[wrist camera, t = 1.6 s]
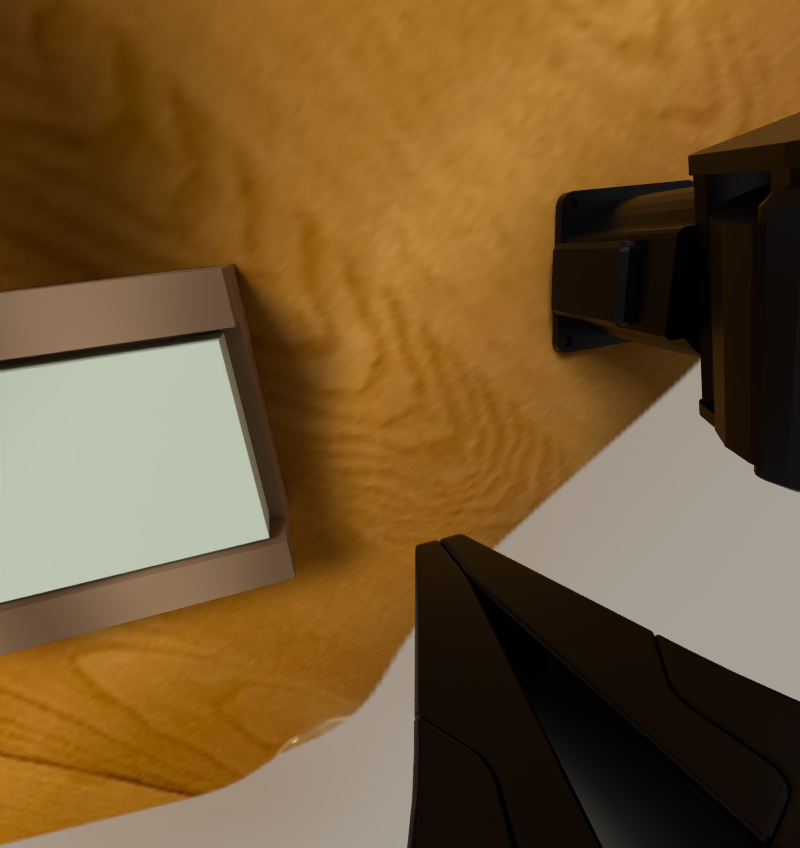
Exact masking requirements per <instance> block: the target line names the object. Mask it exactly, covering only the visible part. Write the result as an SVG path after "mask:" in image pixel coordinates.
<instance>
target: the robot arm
mask: <svg viewBox="0 0 800 848" xmlns="http://www.w3.org/2000/svg"><path fill="white" fill-rule="evenodd" d="M688 162H689V175H690V176H691V175H693V181H694V182H693V181H690V180H685V181H674V182H664V183H653V184H643V185H633V186H622V187H612V188H601V189H591V190H580V191H572V192H567V193H564V194H562V195H561V196H560V197H559V199H558V201H557V205H556V226H555V249H554V250H553V274H552V310H553V340H552V342H553V346H554V348H555V349H556V350H558V351H560V352H563V353H568V352H574V351H579V350H585V349H590V348H596V347H601V346H607V345H612V344H618V343H623V342H629V341H633V342H637V343H642V344H646V345H650V346H654V347H658V348H662V349H667V350H671V351H675V352H679V353H683V354H687V355H692V356H696V357H700V358H701V378H702V399H700V400H699V412H700V415H701V416H702V417H703V418H704V419H705V420H707V421H708V422H709V423H710V424H711V425H713V426H714V427H715V431H716V432H717V434H718V435H719V437H720V439H721V440H722V442H723V443H724V445H725V447H727V448H728V449H730V450H731V451H733V452H734V453H736V454H737V455H739V456H740V457H741V458H743V459H745V460H746V461H747V462H749V463H751V464H753V465H754V472H755V474H756V475H757V476H758V477H760V478H762V479H764V480H766V481H768V482H771V483H774V484H776V485H779V486H782V487H785V488H788V489H790V490H793V491H796V492H800V112H799V113H797V114H794V115H791V116H789V117H786V118H784V119H781V120H778V121H776V122H773V123H771V124H768V125H766V126H763V127H760V128H758V129H755V130H753V131H750V132H747V133H745V134H742V135H740V136H737V137H734V138H732V139H729V140H727V141H724V142H722V143H719V144H716V145H714V146H711V147H709V148H706V149H703V150H701V151H698V152H696V153H693V154H691V155H689V156H688ZM569 200H571V202H572V205H573V206H572V209H571V211H569V210H568V208H567V204H568V201H569ZM566 336H567V342H566V343H565V345H563V343H562V342H563V339H564V338H565V337H566ZM407 848H800V701H798V700H795V699H793V698H791V697H788V696H786V695H784V694H782V693H779V692H777V691H775V690H773V689H771V688H768V687H766V686H764V685H762V684H760V683H757V682H755V681H753V680H751V679H748V678H746V677H744V676H742V675H739V674H737V673H735V672H733V671H731V670H729V669H727V668H725V667H723V666H721V665H719V664H716V663H714V662H712V661H710V660H708V659H706V658H704V657H702V656H700V655H698V654H696V653H694V652H692V651H690V650H688V649H686V648H684V647H682V646H680V645H678V644H676V643H674V642H672V641H670V640H668V639H666V638H664V637H663V636H661V635H656V636H654V634H653V632H652V631H650V630H648V629H647V628H644V627H643V626H641V625H639V624H637V623H635V622H633V621H631V620H629V619H627V618H625V617H623V616H621V615H619V614H617V613H615V612H613V611H611V610H610V609H608V608H606V607H604V606H601V605H600V604H598V603H596V602H594V601H592V600H590V599H588V598H586V597H584V596H582V595H580V594H578V593H576V592H574V591H572V590H571V589H569V588H567V587H565V586H563V585H561V584H559V583H556V582H555V581H553V580H551V579H549V578H547V577H545V576H543V575H541V574H539V573H537V572H535V571H533V570H531V569H530V568H528V567H526V566H524V565H522V564H520V563H518V562H516V561H514V560H512V559H510V558H508V557H506V556H504V555H502V554H500V553H498V552H496V551H495V550H493V549H491V548H489V547H487V546H485V545H483V544H481V543H479V542H477V541H475V540H473V539H471V538H469V537H467V536H465V535H463V534H457V535H453V536H449V537H445V538H442V539H441V540H440V541H436V540H434V541H430V542H426V543H423V544H419V545H417V546H416V549H415V721H414V765H413V791H412V806H411V815H410V826H409V835H408V845H407Z"/></svg>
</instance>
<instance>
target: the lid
mask: <svg viewBox="0 0 800 848" xmlns="http://www.w3.org/2000/svg"><path fill="white" fill-rule="evenodd" d="M267 538H269V511H268V507H267V503H266V499H265V495H264V491H263V487H262V483H261V479H260V475H259V471H258V467H257V463H256V459H255V455H254V451H253V447H252V443H251V439H250V435H249V431H248V427H247V423H246V419H245V415H244V411H243V407H242V403H241V399H240V395H239V391H238V388H237V384H236V380H235V376H234V372H233V368H232V364H231V360H230V356H229V352H228V348H227V344H226V340H225V336H224V332H221V333H214V334H207V335H200V336H193V337H186V338H179V339H172V340H165V341H158V342H151V343H144V344H137V345H130V346H124V347H117V348H110V349H103V350H96V351H89V352H82V353H75V354H68V355H61V356H54V357H47V358H40V359H33V360H26V361H19V362H12V363H5V364H0V603H1V602H5V601H10V600H14V599H18V598H22V597H26V596H30V595H34V594H39V593H43V592H47V591H51V590H55V589H59V588H63V587H68V586H72V585H76V584H80V583H84V582H88V581H93V580H97V579H101V578H105V577H109V576H113V575H117V574H122V573H126V572H130V571H134V570H138V569H142V568H146V567H151V566H155V565H159V564H163V563H167V562H171V561H175V560H180V559H184V558H188V557H192V556H196V555H200V554H204V553H209V552H213V551H217V550H221V549H225V548H229V547H234V546H238V545H242V544H246V543H250V542H254V541H258V540H263V539H267Z"/></svg>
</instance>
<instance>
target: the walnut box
mask: <svg viewBox="0 0 800 848" xmlns="http://www.w3.org/2000/svg"><path fill="white" fill-rule="evenodd" d="M221 332H224V336H225V340H226V344H227V348H228V352H229V356H230V360H231V364H232V368H233V372H234V376H235V380H236V384H237V388H238V391H239V395H240V399H241V403H242V407H243V411H244V415H245V419H246V423H247V427H248V431H249V435H250V439H251V443H252V447H253V451H254V455H255V459H256V463H257V467H258V471H259V475H260V479H261V483H262V487H263V491H264V495H265V499H266V503H267V507H268V511H269V538H267V539H263V540H258V541H254V542H250V543H246V544H242V545H238V546H234V547H229V548H225V549H221V550H217V551H213V552H209V553H204V554H200V555H196V556H192V557H188V558H184V559H180V560H175V561H171V562H167V563H163V564H159V565H155V566H151V567H146V568H142V569H138V570H134V571H130V572H126V573H122V574H117V575H113V576H109V577H105V578H101V579H97V580H93V581H88V582H84V583H80V584H76V585H72V586H68V587H63V588H59V589H55V590H51V591H47V592H43V593H39V594H34V595H30V596H26V597H22V598H18V599H14V600H10V601H5V602H1V603H0V656H1V655H4V654H8V653H12V652H16V651H20V650H23V649H27V648H31V647H35V646H39V645H42V644H46V643H50V642H54V641H58V640H61V639H65V638H69V637H73V636H77V635H81V634H84V633H88V632H92V631H96V630H100V629H103V628H107V627H111V626H115V625H119V624H122V623H126V622H130V621H134V620H138V619H141V618H145V617H149V616H153V615H157V614H160V613H164V612H168V611H172V610H176V609H180V608H183V607H187V606H191V605H195V604H199V603H202V602H206V601H210V600H214V599H218V598H221V597H225V596H229V595H233V594H237V593H240V592H244V591H248V590H252V589H256V588H259V587H263V586H267V585H271V584H275V583H278V582H282V581H286V580H290V579H294V578H296V577H295V565H294V554H293V543H292V531H291V520H290V509H289V502H288V497H287V493H286V488H285V484H284V480H283V475H282V471H281V467H280V462H279V458H278V453H277V449H276V445H275V440H274V436H273V432H272V427H271V423H270V418H269V414H268V410H267V405H266V401H265V397H264V392H263V388H262V384H261V379H260V375H259V370H258V366H257V362H256V357H255V353H254V349H253V344H252V340H251V335H250V331H249V327H248V322H247V318H246V314H245V309H244V305H243V301H242V296H241V292H240V287H239V283H238V279H237V274H236V270H235V266H234V264H229V265H220V266H212V267H203V268H194V269H185V270H176V271H168V272H159V273H150V274H141V275H133V276H124V277H115V278H106V279H98V280H89V281H80V282H71V283H62V284H54V285H45V286H36V287H27V288H19V289H10V290H1V291H0V364H5V363H12V362H19V361H26V360H33V359H40V358H47V357H54V356H61V355H68V354H75V353H82V352H89V351H96V350H103V349H110V348H117V347H124V346H130V345H137V344H144V343H151V342H158V341H165V340H172V339H179V338H186V337H193V336H200V335H207V334H214V333H221Z"/></svg>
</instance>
